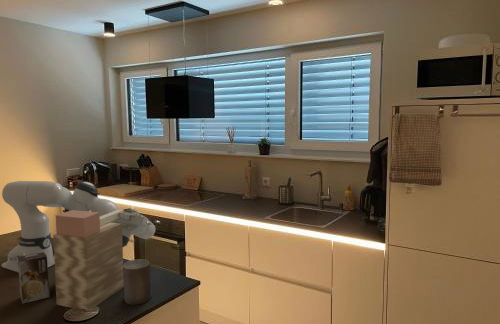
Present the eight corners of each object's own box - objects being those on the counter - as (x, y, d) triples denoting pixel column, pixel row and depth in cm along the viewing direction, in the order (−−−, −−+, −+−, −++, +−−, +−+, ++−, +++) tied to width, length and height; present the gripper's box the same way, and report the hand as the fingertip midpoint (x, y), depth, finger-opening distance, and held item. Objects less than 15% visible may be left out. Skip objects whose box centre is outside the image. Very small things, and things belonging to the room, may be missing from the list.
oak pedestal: (56, 304, 135) (53, 234, 133) (94, 282, 154) (92, 220, 152) (88, 310, 131) (86, 238, 129) (123, 286, 150) (121, 223, 148)
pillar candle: (156, 296, 143) (155, 258, 141) (138, 307, 134) (137, 266, 133) (136, 291, 147) (135, 254, 146) (118, 301, 138) (116, 262, 137)
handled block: (56, 234, 133) (55, 215, 132) (108, 214, 160) (108, 198, 159) (84, 238, 129) (83, 218, 128) (133, 217, 156) (132, 200, 156)
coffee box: (47, 291, 146) (45, 251, 144) (50, 297, 141) (47, 256, 139) (19, 297, 141) (17, 256, 139) (21, 304, 136) (19, 261, 134)
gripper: (151, 232, 162) (134, 223, 150) (111, 227, 168) (92, 219, 156) (155, 218, 165) (139, 208, 153) (115, 214, 171) (96, 205, 158)
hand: (115, 214), depth 154 cm, fingers closed on handled block, 3 cm apart
